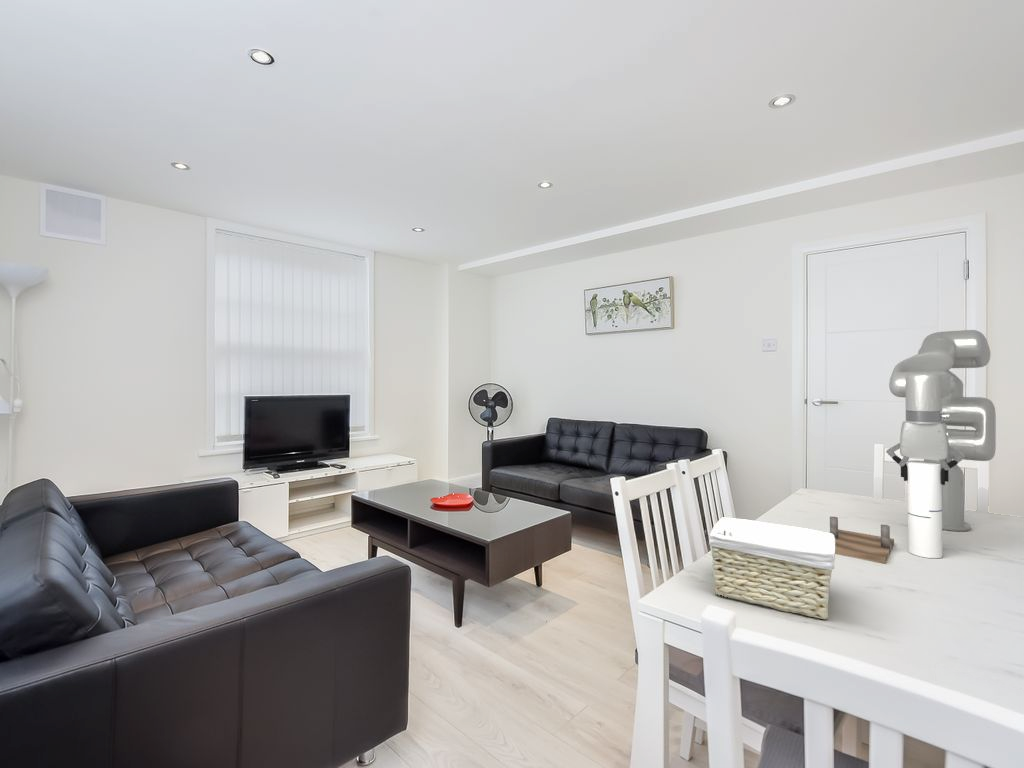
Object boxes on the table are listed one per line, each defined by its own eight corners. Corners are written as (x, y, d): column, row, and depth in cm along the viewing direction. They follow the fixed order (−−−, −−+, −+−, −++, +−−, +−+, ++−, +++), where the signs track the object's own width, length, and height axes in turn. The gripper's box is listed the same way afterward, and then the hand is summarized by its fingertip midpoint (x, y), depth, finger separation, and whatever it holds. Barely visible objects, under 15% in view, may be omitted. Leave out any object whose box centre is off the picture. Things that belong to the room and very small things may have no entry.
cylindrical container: (949, 559, 126) (948, 465, 126) (918, 557, 128) (917, 465, 127) (931, 549, 133) (930, 460, 133) (902, 548, 135) (901, 460, 134)
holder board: (836, 533, 148) (836, 509, 148) (894, 544, 139) (893, 518, 139) (822, 551, 134) (822, 524, 134) (885, 563, 124) (885, 535, 124)
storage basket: (835, 595, 107) (834, 530, 107) (836, 627, 93) (835, 552, 93) (721, 573, 120) (720, 515, 120) (707, 598, 107) (706, 532, 107)
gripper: (967, 417, 127) (968, 484, 127) (885, 415, 139) (885, 475, 139) (967, 420, 121) (968, 489, 121) (881, 417, 133) (882, 480, 134)
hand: (924, 481), depth 130 cm, fingers closed on cylindrical container, 7 cm apart
